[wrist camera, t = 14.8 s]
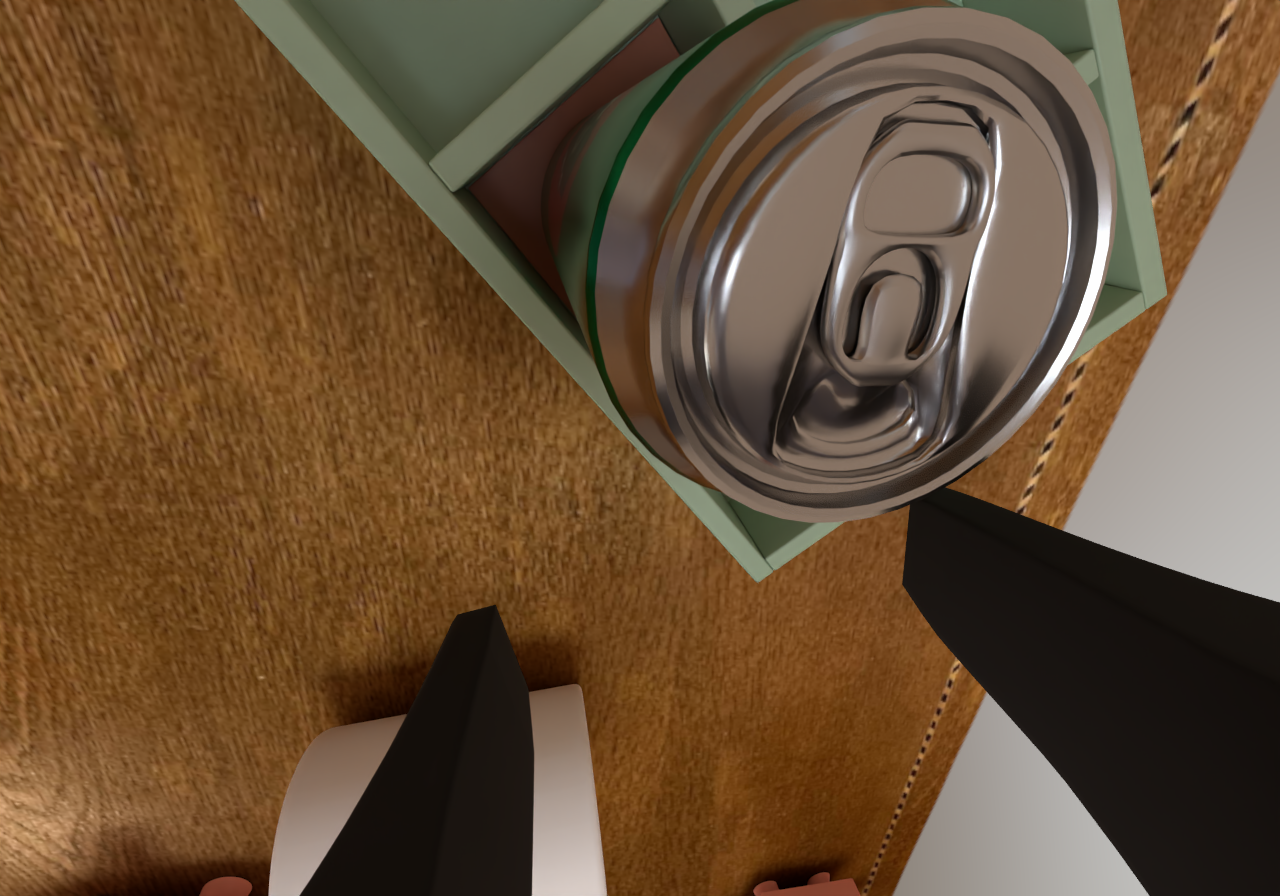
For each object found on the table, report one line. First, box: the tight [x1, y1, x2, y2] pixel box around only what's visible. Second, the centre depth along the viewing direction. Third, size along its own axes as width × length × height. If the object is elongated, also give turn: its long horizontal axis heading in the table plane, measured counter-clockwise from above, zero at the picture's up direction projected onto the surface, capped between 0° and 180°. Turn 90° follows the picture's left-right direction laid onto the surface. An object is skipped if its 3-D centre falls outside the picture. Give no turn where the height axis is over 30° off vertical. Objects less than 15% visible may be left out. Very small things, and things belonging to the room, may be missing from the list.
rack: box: [234, 0, 1167, 582], centre depth 14 cm, size 15×22×4 cm
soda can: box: [541, 0, 1117, 523], centre depth 10 cm, size 5×5×12 cm
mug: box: [269, 684, 607, 896], centre depth 22 cm, size 12×10×8 cm
